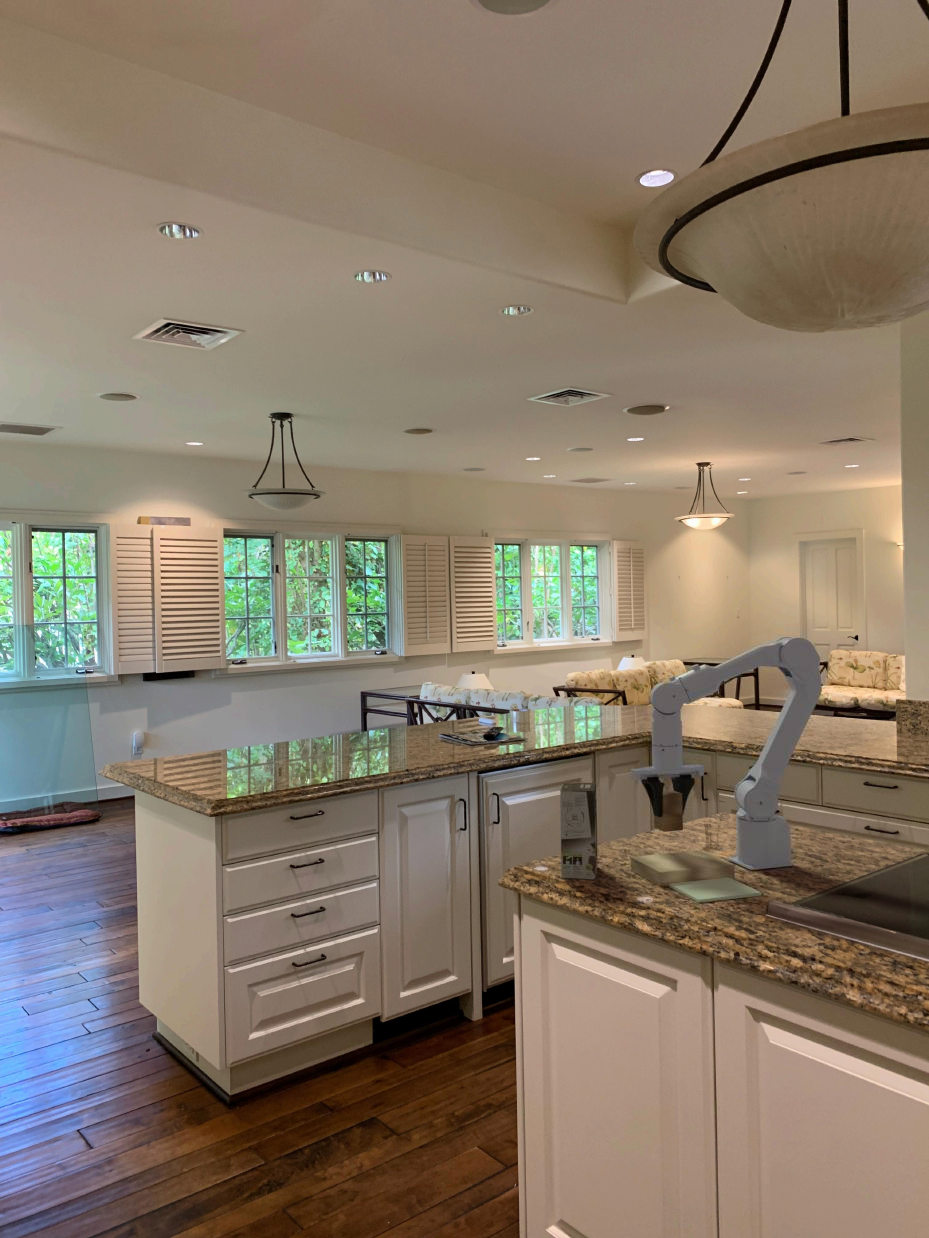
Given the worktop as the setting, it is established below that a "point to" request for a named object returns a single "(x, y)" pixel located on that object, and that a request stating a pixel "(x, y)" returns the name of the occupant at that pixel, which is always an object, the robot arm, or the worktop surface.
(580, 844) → the coffee box
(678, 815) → the walnut block
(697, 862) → the maple board
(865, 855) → the worktop surface
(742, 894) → the green mat
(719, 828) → the worktop surface
